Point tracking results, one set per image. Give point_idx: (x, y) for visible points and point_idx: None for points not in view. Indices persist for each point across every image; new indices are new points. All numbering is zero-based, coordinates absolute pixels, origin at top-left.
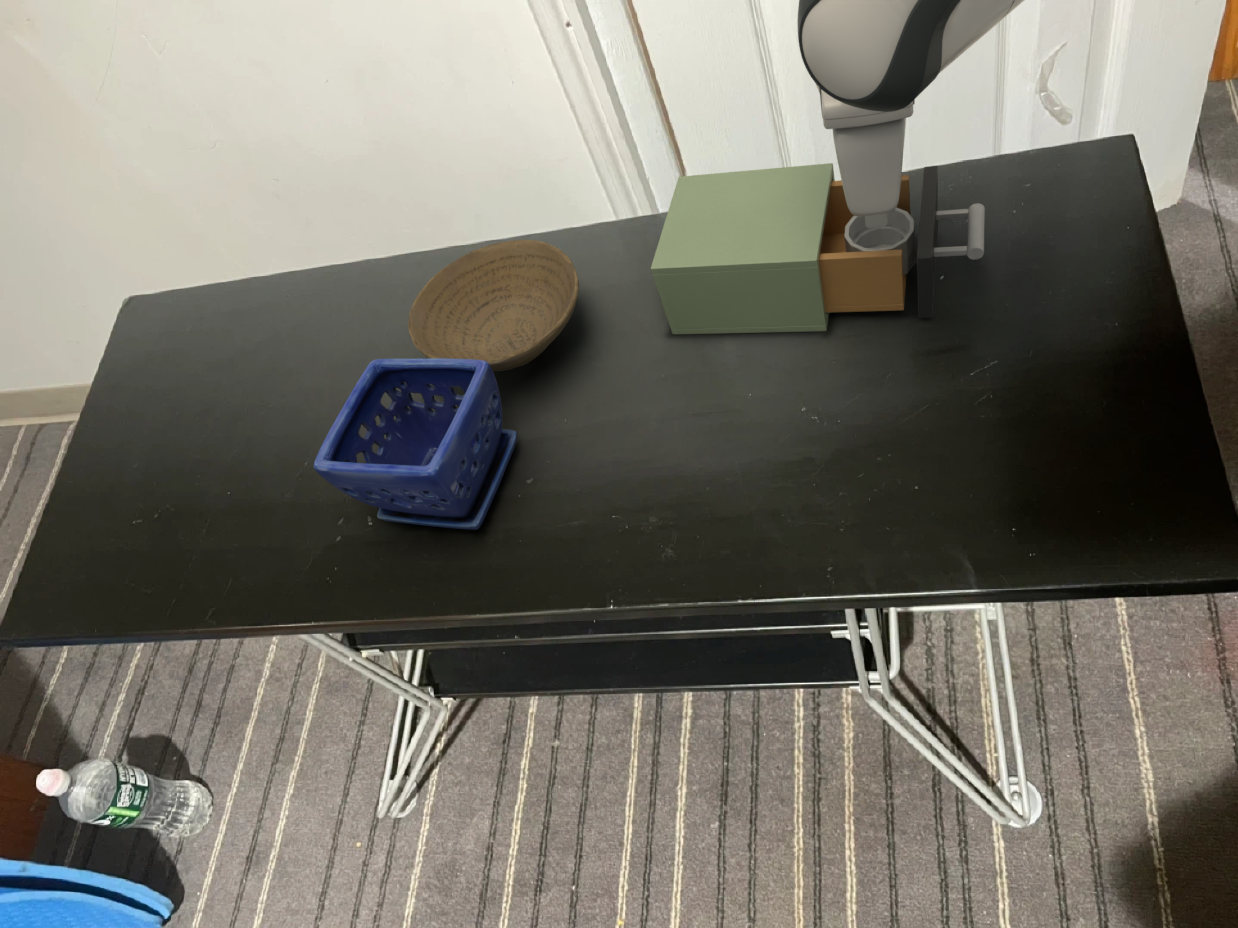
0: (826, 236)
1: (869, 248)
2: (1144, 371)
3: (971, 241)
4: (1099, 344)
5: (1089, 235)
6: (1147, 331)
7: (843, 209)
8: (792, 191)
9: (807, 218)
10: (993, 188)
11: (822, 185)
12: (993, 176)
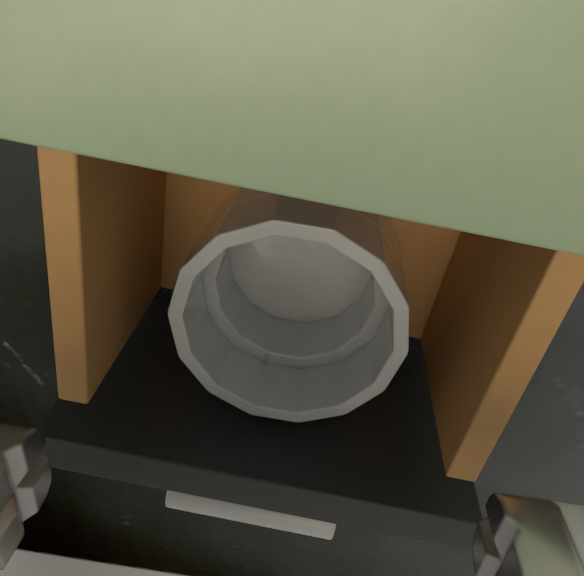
0: None
1: (186, 292)
2: (35, 523)
3: (194, 499)
4: (85, 499)
5: (331, 547)
6: (111, 544)
7: None
8: (578, 15)
9: (262, 101)
10: (533, 475)
11: (534, 210)
12: (573, 483)
